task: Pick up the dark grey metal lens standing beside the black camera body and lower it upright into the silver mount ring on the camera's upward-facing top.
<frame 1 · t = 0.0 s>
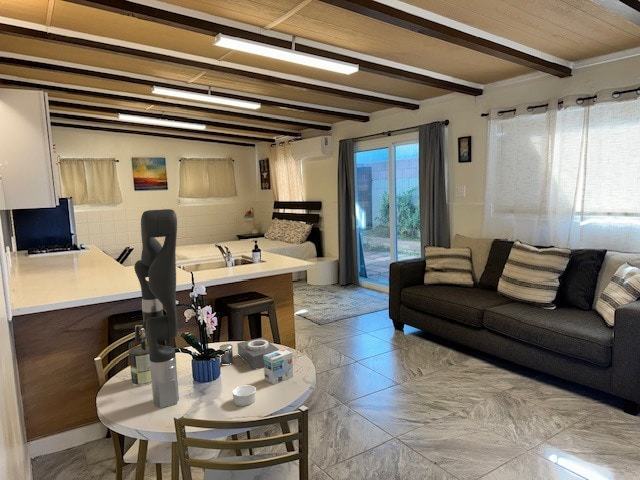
hand: (155, 347, 174), 17 cm above the table, tool pointing down, fingers open, 8 cm apart
camera body: (258, 358, 202), on the table
lens: (227, 363, 198), on the table
coffee can: (144, 381, 183), on the table
light bulb box: (279, 378, 181), on the table
ramekin: (244, 401, 163), on the table
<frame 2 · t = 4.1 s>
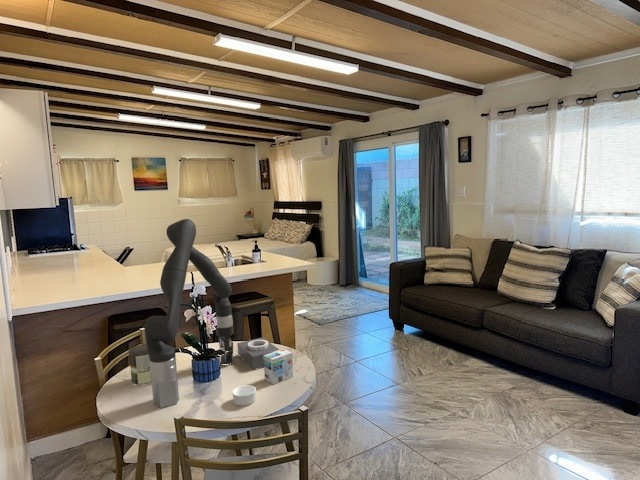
hand: (226, 360, 198), 2 cm above the table, tool pointing down, fingers closed on lens, 5 cm apart
lens: (227, 363, 198), on the table, touching gripper
everything else where it was.
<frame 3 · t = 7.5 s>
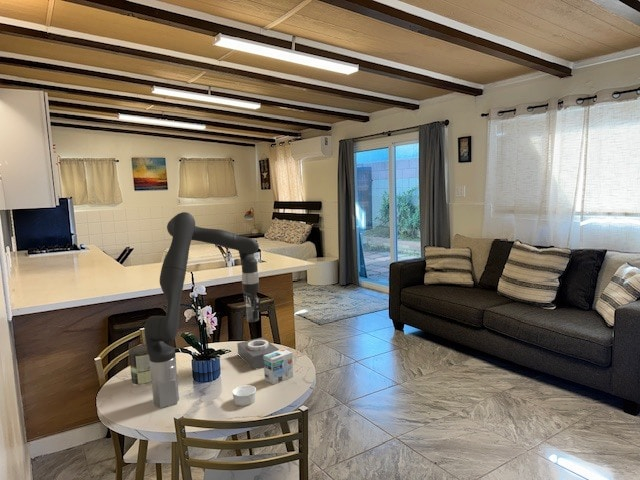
hand: (252, 316, 200), 20 cm above the table, tool pointing down, fingers closed on lens, 5 cm apart
lens: (253, 320, 200), point 19 cm above the table, touching gripper
everything else where it was.
when the fingers open (9 cm above the table, at t = 10.5 s): lens drops 1 cm, resting on camera body.
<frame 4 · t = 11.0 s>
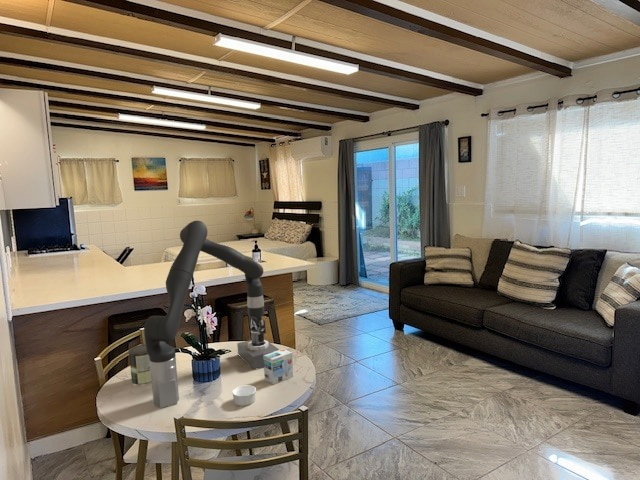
hand: (257, 339, 201), 10 cm above the table, tool pointing down, fingers open, 8 cm apart
lens: (258, 346, 201), point 6 cm above the table, touching camera body
everything else where it was.
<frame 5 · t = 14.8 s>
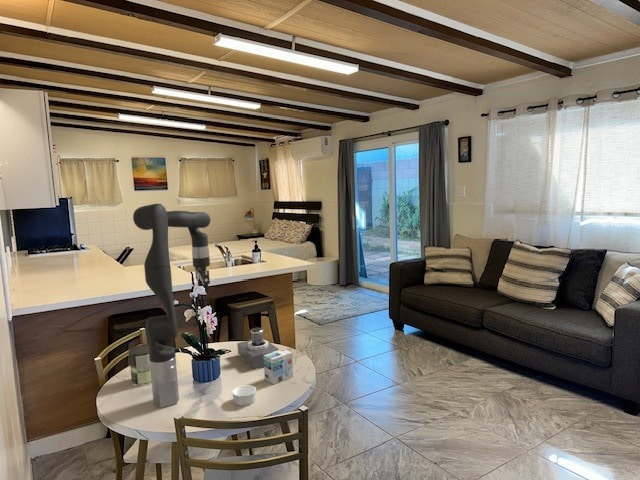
hand: (203, 290, 199), 33 cm above the table, tool pointing down, fingers open, 8 cm apart
nothing on the table moved.
at the end: lens 0.1 cm off-centre on the camera body, point 6.1 cm above the camera body's base; lens tilted 2°; the gripper is holding nothing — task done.
